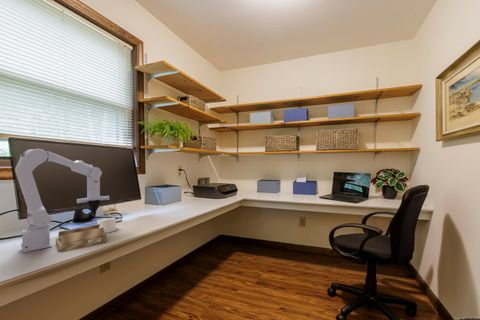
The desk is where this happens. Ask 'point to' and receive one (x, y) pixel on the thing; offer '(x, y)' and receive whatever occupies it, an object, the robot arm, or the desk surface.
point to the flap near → (82, 235)
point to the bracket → (107, 224)
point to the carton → (80, 242)
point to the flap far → (78, 230)
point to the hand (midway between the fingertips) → (93, 214)
